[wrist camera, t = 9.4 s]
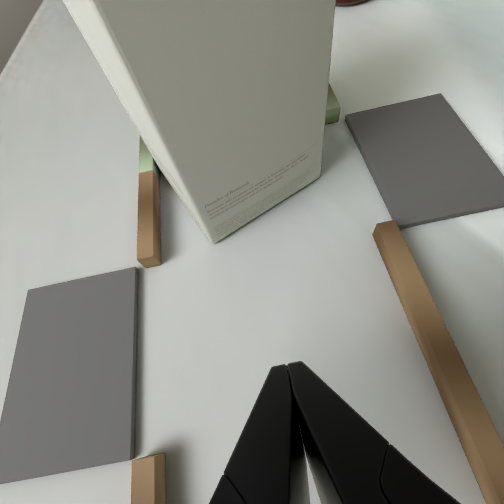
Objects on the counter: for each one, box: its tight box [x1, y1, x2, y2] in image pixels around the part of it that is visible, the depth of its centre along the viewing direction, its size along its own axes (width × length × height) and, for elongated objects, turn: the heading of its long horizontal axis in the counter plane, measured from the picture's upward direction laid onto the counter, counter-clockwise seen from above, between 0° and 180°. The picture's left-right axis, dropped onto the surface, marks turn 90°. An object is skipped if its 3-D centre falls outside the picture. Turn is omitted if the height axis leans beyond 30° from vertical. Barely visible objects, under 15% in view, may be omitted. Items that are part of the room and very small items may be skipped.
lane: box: [131, 59, 504, 504], centre depth 16 cm, size 30×15×3 cm, turn 9°
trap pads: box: [0, 93, 504, 484], centre depth 18 cm, size 19×30×1 cm, turn 99°
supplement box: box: [63, 0, 336, 244], centre depth 15 cm, size 9×9×15 cm
